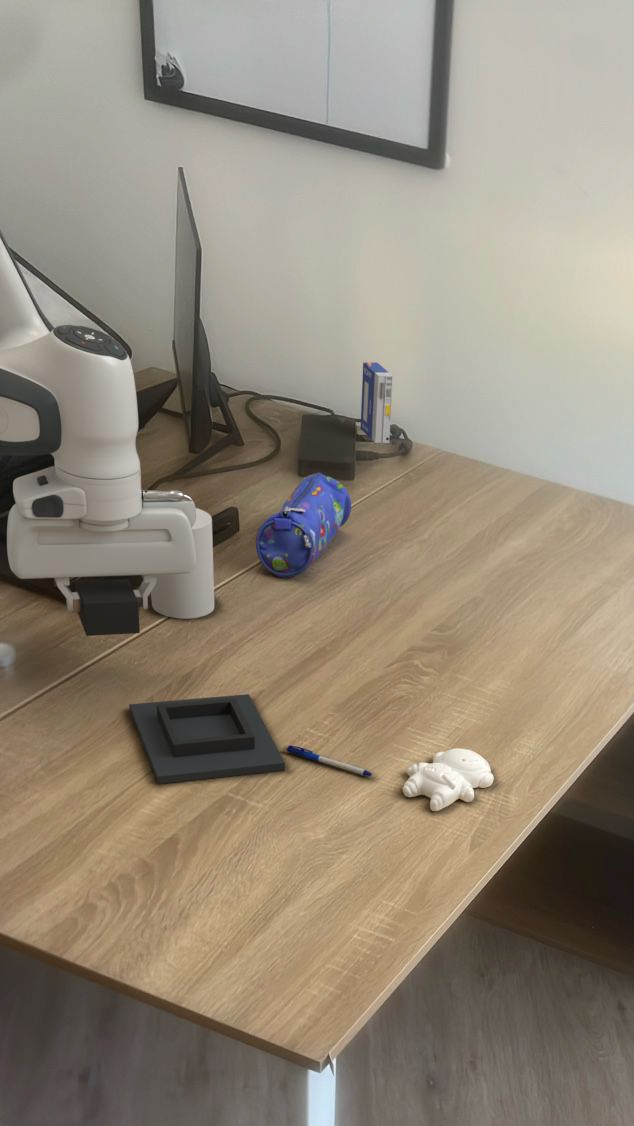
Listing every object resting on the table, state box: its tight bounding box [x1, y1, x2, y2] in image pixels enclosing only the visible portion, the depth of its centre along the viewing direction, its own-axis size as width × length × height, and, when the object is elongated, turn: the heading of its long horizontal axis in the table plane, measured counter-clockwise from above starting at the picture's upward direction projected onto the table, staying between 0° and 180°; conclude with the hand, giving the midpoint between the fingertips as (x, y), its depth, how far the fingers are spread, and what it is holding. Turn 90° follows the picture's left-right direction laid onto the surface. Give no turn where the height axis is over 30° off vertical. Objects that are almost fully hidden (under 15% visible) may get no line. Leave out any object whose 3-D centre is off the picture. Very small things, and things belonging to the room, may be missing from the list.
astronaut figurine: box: [402, 747, 495, 812], centre depth 144 cm, size 9×12×3 cm
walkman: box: [360, 361, 394, 444], centre depth 230 cm, size 8×3×12 cm, turn 27°
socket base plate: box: [128, 693, 286, 785], centre depth 145 cm, size 14×16×3 cm
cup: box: [150, 507, 215, 620], centre depth 167 cm, size 8×8×12 cm
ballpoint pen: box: [286, 745, 372, 777], centre depth 145 cm, size 10×1×1 cm, turn 72°
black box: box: [74, 578, 141, 637], centre depth 148 cm, size 6×6×4 cm
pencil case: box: [255, 472, 352, 579], centre depth 186 cm, size 22×9×10 cm, turn 171°
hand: (107, 608), depth 148 cm, fingers closed on black box, 6 cm apart
